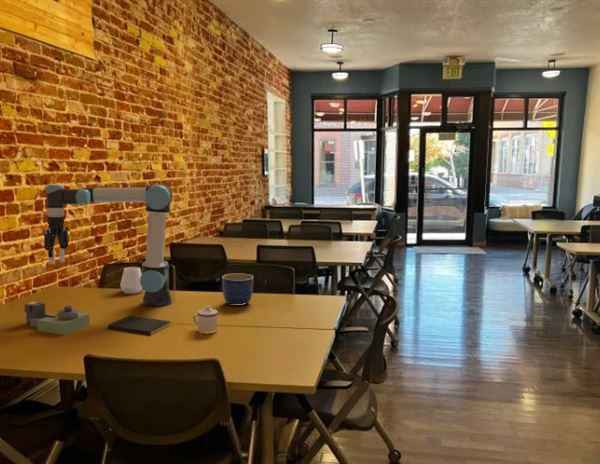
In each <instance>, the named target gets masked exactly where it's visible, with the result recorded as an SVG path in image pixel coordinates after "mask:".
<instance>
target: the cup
mask: <svg viewBox="0 0 600 464" xmlns="http://www.w3.org/2000/svg"><path fill="white" fill-rule="evenodd" d="M141 275H142V269H141V268H140V267H138V266H129V267H125V268H123V272H122V277H121V280H120V284H119V286H120V288H121V290H122V292H123V293H124V294H127V295H135V294H139V293H141V292H142V291H143V290H144V289H143V288H142V286H141V284H140V277H141Z"/></svg>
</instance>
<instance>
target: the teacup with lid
mask: <svg viewBox="0 0 600 464" xmlns="http://www.w3.org/2000/svg"><path fill="white" fill-rule="evenodd" d="M218 314H219V312H218V310H216V309H213V308H212V307H211V306H210V305H206V306H205V308H202V309H200V310H198V311H197V313H195V314H194V315H193V316H192V320H193V323H194V324H195V325H197V332H198V331H200V332H211V331H215V330H217V331H218ZM196 317H197V320H196Z"/></svg>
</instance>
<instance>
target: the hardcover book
mask: <svg viewBox="0 0 600 464" xmlns="http://www.w3.org/2000/svg"><path fill="white" fill-rule="evenodd" d="M171 322H172V321H170V320H163V319H157V318H149V317H144V316H135V315H130V314H129V315H128V316H126V317H123V318H121V319H118V320H117V321H114V322H112V323H109V324H108V325H107V330H113V331H118V332H119V331H120V332H126V333H132V334H137V333H138V334H139V335H143V334H146V335H145V336H150V335H151V334H152V335H154V334H156V333H157V332H156V331H158V330H159V329H161V328H163V327H165V326H166V325H168V324H170V325H171ZM165 328H166V327H165ZM163 329H164V328H163ZM155 332H156V333H155ZM158 332H159V331H158ZM153 333H154V334H153ZM152 335H151V336H152Z"/></svg>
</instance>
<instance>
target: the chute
mask: <svg viewBox="0 0 600 464" xmlns="http://www.w3.org/2000/svg"><path fill="white" fill-rule="evenodd" d="M23 305H24V313H26V314H25V316H26V318H25V319H26V324H28V325H30V319H31V318H34V319H42V318H45V314H46V303H45V302H42V301H37V300H36V301H32V302H28V303H26V304H23Z"/></svg>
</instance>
